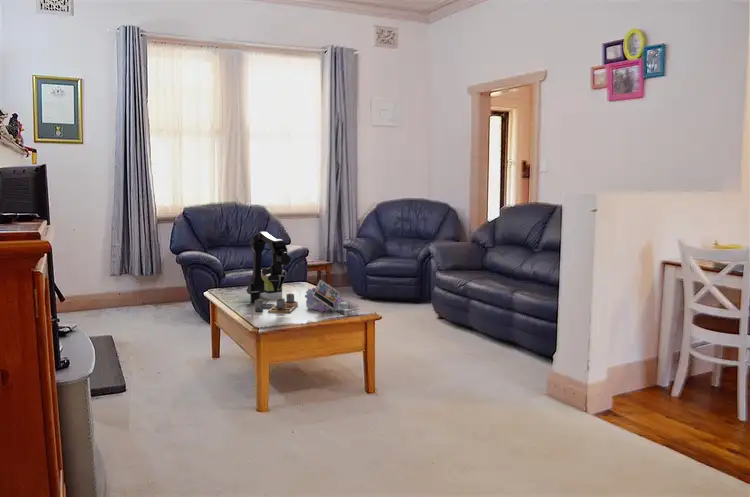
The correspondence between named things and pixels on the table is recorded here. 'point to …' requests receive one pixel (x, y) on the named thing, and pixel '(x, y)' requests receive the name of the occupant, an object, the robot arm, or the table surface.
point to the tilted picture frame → (322, 297)
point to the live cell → (281, 304)
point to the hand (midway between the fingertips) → (277, 290)
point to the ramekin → (291, 304)
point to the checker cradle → (268, 306)
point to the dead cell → (290, 298)
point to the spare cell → (258, 305)
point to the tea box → (270, 289)
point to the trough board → (287, 310)
